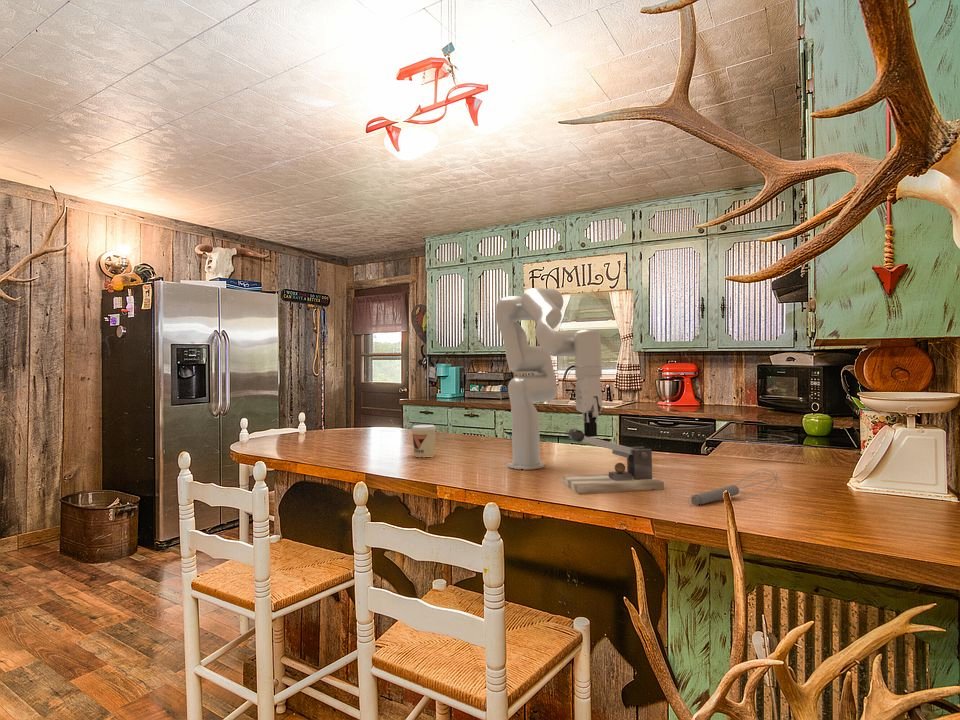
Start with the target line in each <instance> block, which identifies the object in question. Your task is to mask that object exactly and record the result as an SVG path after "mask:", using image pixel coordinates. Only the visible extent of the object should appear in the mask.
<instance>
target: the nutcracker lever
mask: <svg viewBox="0 0 960 720" xmlns="http://www.w3.org/2000/svg"><path fill="white" fill-rule="evenodd" d="M567 435H568V438H569V439H570V440H572V441H575V442H577V443H580V442H583V443H584V444H585V443H586V444H590V445H593V446H597V447H600V448H605V449H608V450H611V451H612V452H611V454H613V455H615V456H619V457H623V458H626V459H627V458H629V454H630V455H633V450H639V449H633V448H629V447H630V446H625V445H621V444H618V443H614V442H610V441H607V440H603V439H599V438H596V437H587V436H585V435H584V432H583V431H582V430H579V429H577V428H571V429H569V431H568V433H567Z"/></svg>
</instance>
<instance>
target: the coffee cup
mask: <svg viewBox="0 0 960 720" xmlns="http://www.w3.org/2000/svg"><path fill="white" fill-rule="evenodd" d="M436 429H437V428H436V425H434V424H418V425H412V428H411V430H412V431H411V432H412V441H413V442H412V443H413V453H414V457H415V456H418V457H424V456H432V455H434V456H435V449H436V447H435V446H436Z"/></svg>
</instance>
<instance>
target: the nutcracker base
mask: <svg viewBox="0 0 960 720" xmlns="http://www.w3.org/2000/svg"><path fill="white" fill-rule="evenodd" d="M628 447H629V448H633V449H639V450H633V455H630V454H629V458H626V464H624V463H622V462H616V464H615V465H614V470H615V471H608V473H601V474H600V473H599V474H597V473H596V474H582V475H580V474H579V475H577V474H576V475H563V476H562V477H563V479H562V480H563V484H564V485H565V486H567V487H568V488H569V489H571V490H573V492H575V493H577V494H578V495H587V494H588V493H589V494H601V493H603V494H605V493H618V492H619V493H621V492H635V491H639V492H640V491H650V490H651V491H652V489H655V490H665V481H663V480H661V479H659V478H656V477H654V476H653V465H652V464H653V461H652V460H653V459H652V453H653V452H652V448H645V446H628ZM625 465H626V466H627V467H626V466H625Z"/></svg>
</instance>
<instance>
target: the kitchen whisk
mask: <svg viewBox="0 0 960 720" xmlns="http://www.w3.org/2000/svg"><path fill="white" fill-rule="evenodd" d="M762 470H763V471H764V472H761V473H755V472H758V471H762ZM768 472H770V473H772V472H774V473H776V474H774V473H772V474H773V475H772V474H769V473H768ZM754 473H755V474H754ZM764 474H766V475H768V476H772V477H773V478H771V479H767V480H763V481H759V482H755V483H752V484H748V485H744V486H742V487H740V486H741V485H743V484H745V483H746V482H748V481H751V480H752V479H754V478H756V477H758V476H760V475H764ZM777 476H778V472H777V471H776V470H770V469H766V468H761V469H757V470H755V471H752V472H750V473H749V474H748V475H746V476H744V478H742V479H741V480H740V481H739V482H737V483H736V484H731V485H726V486H723V487H720V488H719V487H718V488H716V489H712V490H708V491H705V492H701V493H697V494H693V495H691V496H689V497H688V498H687V503H688V504H689V506H691V507H693V504H695V505H694V506H702V505H701V504H703V505H706V504H710V503H713V502H716V501H720V500H723V492H724V491H725V490H727V491H729V493H730V496H731V497H734V496H737V495H739V494H741V495H746V490H740V489H744V488H747V487H752V486H755V485H758V484H762V483H765V482H769V481H773V480H774V481H773V483H771V485H770V486H769V487H767V488H765V489H760V490H756V492H761V491H770V490H772V491H771V493H774V492H775V491H776V490H777V488H780V487H782V484H783V483H782V480H780V478H782V476H779V477H777ZM750 477H751V478H750ZM748 478H749V479H748ZM746 479H747V480H746ZM744 480H746V481H744ZM778 481H779V482H780V485H779V486H776V487H774V488H771V487H772V486H773V484H774V483H776V485H778ZM741 482H742V483H741ZM758 494H759V493H758ZM758 494H755V493H754V494H753V493H748V495H752V496H754V495H755V496H758ZM689 499H690V501H691V503H692V505H691V504H690V502H689ZM709 502H710V503H709ZM705 503H706V504H705ZM699 504H700V505H699Z"/></svg>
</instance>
